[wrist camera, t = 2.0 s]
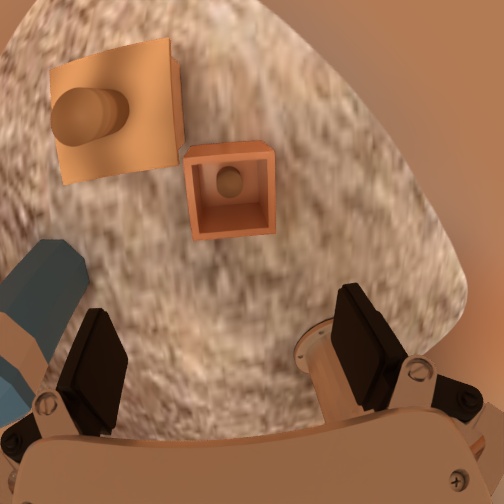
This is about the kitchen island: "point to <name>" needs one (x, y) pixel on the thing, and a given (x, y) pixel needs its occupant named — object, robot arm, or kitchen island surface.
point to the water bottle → (35, 320)
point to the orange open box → (240, 207)
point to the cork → (229, 182)
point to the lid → (115, 112)
